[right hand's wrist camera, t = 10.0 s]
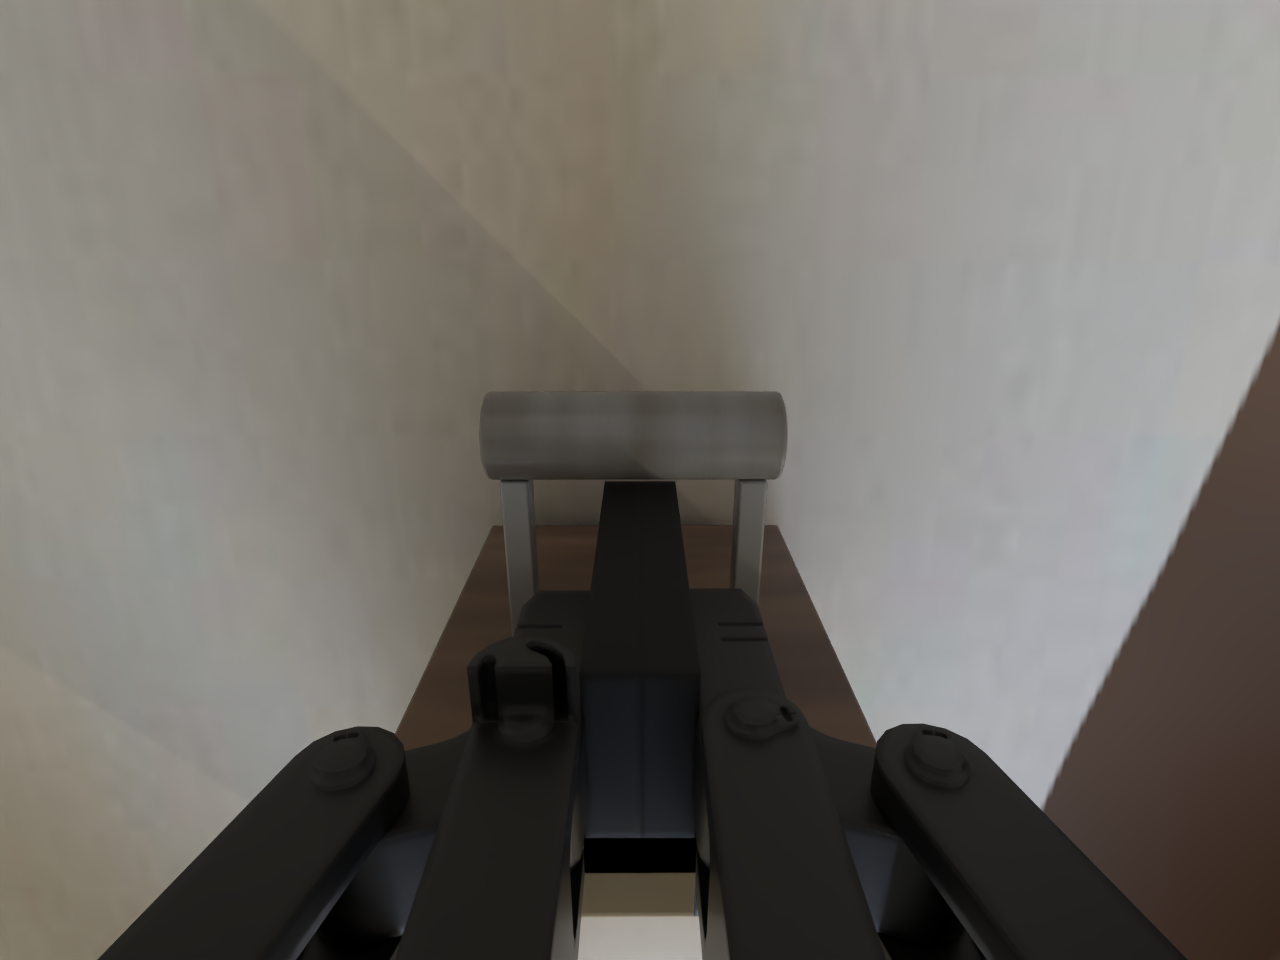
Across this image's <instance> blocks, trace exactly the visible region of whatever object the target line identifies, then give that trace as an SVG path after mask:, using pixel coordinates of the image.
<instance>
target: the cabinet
mask: <svg viewBox="0 0 1280 960" xmlns="http://www.w3.org/2000/svg"><path fill="white" fill-rule="evenodd" d="M694 895H695V873H585V877H584V889H583V902H582V914H581V926H580V938H579V951H578V960H702V950H701V938H700V925H699V916H694Z"/></svg>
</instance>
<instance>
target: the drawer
mask: <svg viewBox="0 0 1280 960" xmlns="http://www.w3.org/2000/svg"><path fill="white" fill-rule="evenodd" d="M479 437H480V452H481V459H482V464H483V468H484V471H485V473H486V475H487V477H488V478H490V479H492V480H501V482H500V491H501V504H502V516H503V526H492V529H491V531H490V533H489V535H488V537H487V539H486V541H485V543H484V546H483V548H482V550H481V552H480V554H479V556H478V558H477V561H476V563H475V565H474V567H473V569H472V571H471V573H470V575H469V578H468V580H467V582H466V584H465V586H464V588H463V590H462V593H461V595H460V597H459V599H458V601H457V603H456V605H455V607H454V610H453V612H452V614H451V616H450V618H449V620H448V622H447V624H446V627H445V629H444V631H443V633H442V635H441V637H440V639H439V642H438V644H437V646H436V648H435V650H434V652H433V654H432V656H431V659H430V661H429V663H428V665H427V667H426V669H425V671H424V674H423V676H422V678H421V680H420V682H419V684H418V686H417V688H416V691H415V693H414V695H413V697H412V699H411V701H410V703H409V705H408V708H407V710H406V712H405V714H404V716H403V718H402V720H401V723H400V725H399V727H398V729H397V731H396V733H395V735H396V736H397V737H398V739H399V740H400V741H401V742H402V743H403V746H404V751H407V750H411V749H415V748H419V747H423V746H428V745H432V744H436V743H439V742H442V741H446V740H449V739H452V738H454V737H456V736H458V735H460V734H462V733H464V732H466V731H468V730H469V729H470V728H471V725H472V722H473V720H472V711H471V702H470V693H469V684H468V675H467V665H468V664H469V663H470V661H471V660H472V658H473V657H474V656H475V654H476V653H478V652H479V651H481V650H482V649H484V648H485V647H487V646H488V645H490V644H492V643H495V642H498V641H501V640H504V639H507V638H509V637H513V636H514V633H515V630H516V628H517V623H518V620H519V617H520V613H521V610H522V607H523V605H525V604H526V603H527V602H528V601H529V600H530V599H531V598H532V597H533V596H534V595H535V594H536V593H537V592H538V591H539V590H590V589H591V582H592V574H593V567H594V560H595V552H596V545H597V537H598V530H599V526H536V525H535V509H534V493H533V480H582V479H735V492H734V510H733V525H681V530H682V537H683V545H684V552H685V560H686V567H687V574H688V582H689V588H741V589H742V590H743V591H744V592H745V593H746V594H747V595H748V596H749V597H750V598H752V599H753V600H754V601H755V602H756V603H757V604H758V607H759V611H760V614H761V617H762V621H763V626H764V627H765V630H766V634H767V637H768V641H769V643H770V647H771V650H772V653H773V656H774V660H775V663H776V666H777V669H778V673H779V676H780V679H781V682H782V686H783V689H784V692H785V696H786V698H787V699H788V700H790V701H791V702H792V703H794V704H795V705H796V706H798V707H799V708H800V710H801V712H802V713H803V715H804V716H805V718H806V720H807V721H808V724H809V726H810V727H812V728H813V729H815V730H817V731H819V732H821V733H823V734H825V735H827V736H831V737H834V738H837V739H840V740H843V741H847V742H851V743H856V744H860V745H864V746H868V747H872V748H876V746H877V743H876V741H875V738H874V736H873V734H872V732H871V730H870V728H869V725H868V723H867V721H866V719H865V717H864V714H863V712H862V710H861V708H860V706H859V703H858V701H857V699H856V697H855V695H854V692H853V690H852V688H851V686H850V684H849V682H848V679H847V677H846V675H845V673H844V671H843V668H842V666H841V664H840V662H839V660H838V657H837V655H836V653H835V651H834V649H833V646H832V644H831V642H830V640H829V638H828V635H827V633H826V631H825V629H824V627H823V625H822V622H821V620H820V618H819V616H818V614H817V611H816V609H815V607H814V605H813V603H812V600H811V598H810V596H809V594H808V592H807V589H806V587H805V585H804V583H803V581H802V579H801V576H800V574H799V572H798V570H797V568H796V565H795V563H794V561H793V559H792V557H791V554H790V552H789V550H788V548H787V546H786V543H785V541H784V539H783V537H782V535H781V533H780V530H779V528H778V526H776V525H764V524H765V511H766V497H767V481H766V479H776V478H779V477H780V475H781V473H782V470H783V467H784V464H785V458H786V450H787V416H786V409H785V404H784V401H783V398H782V396H781V394H780V393H778V392H489V393H487V394H486V396H485V398H484V401H483V404H482V408H481V414H480V429H479ZM696 846H697V843H696V832H695V835H694V838H586V835H585V836H584V870H585V873H695V870H696Z"/></svg>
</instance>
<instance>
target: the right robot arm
mask: <svg viewBox="0 0 1280 960" xmlns="http://www.w3.org/2000/svg"><path fill="white" fill-rule="evenodd" d="M467 675H468V684H469V693H470V702H471V711H472V720H473V722H472V725H471V728H470V729H469V730H468V731H466V732H464V733H462V734H460V735H458V736H456V737H454V738H452V739H449V740H446V741H442V742H439V743H436V744H432V745H428V746H423V747H419V748H415V749H411V750H407V751H404V746H403V743H402V742H401V741H400V740H399V739H398V737H397V736H396V735H395V734H394V733H392V732H390V731H387V730H384V729H382V728H379V727H353V728H349V729H344V730H340V731H335V732H333V733H331V734H329V735H327V736H325V737H323V738H320V739H318V740H316V741H314V742H313V743H311V744H310V745H309V746H307V747H306V748H305V749H304V750H302V751H301V752H300V753H299V754H297V755H296V756H295V757H294V758H293V759H292V760H291V761H290V762H289V763H288V764H287V765H286V766H285V767H284V768H283V769H282V770H281V771H280V772H279V773H278V774H277V775H276V776H275V777H274V778H273V779H272V781H271V782H270V783H269V784H268V785H267V786H266V787H265V788H264V789H263V790H262V791H261V792H260V793H259V794H258V795H257V796H256V797H255V798H254V799H253V800H252V801H251V802H250V803H249V804H248V805H247V806H246V807H245V808H244V809H243V810H242V811H241V812H240V813H239V815H238V816H237V817H236V818H235V819H234V820H233V821H232V822H231V823H230V824H229V825H228V826H227V827H226V828H225V829H224V830H223V831H222V832H221V833H220V834H219V835H218V836H217V837H216V838H215V839H214V840H213V841H212V842H211V843H210V844H209V845H208V846H207V847H206V848H205V850H204V851H203V852H202V853H201V854H200V855H199V856H198V857H197V858H196V859H195V860H194V861H193V862H192V863H191V864H190V865H189V866H188V867H187V868H186V869H185V870H184V871H183V872H182V873H181V874H180V875H179V876H178V877H177V878H176V879H175V880H174V881H173V882H172V884H171V885H170V886H169V887H168V888H167V889H166V890H165V891H164V892H163V893H162V894H161V895H160V896H159V897H158V898H157V899H156V900H155V901H154V902H153V903H152V904H151V905H150V906H149V907H148V908H147V909H146V910H145V911H144V912H143V913H142V914H141V915H140V916H139V917H138V919H137V920H136V921H135V922H134V923H133V924H132V925H131V926H130V927H129V928H128V929H127V930H126V931H125V932H124V933H123V934H122V935H121V936H120V937H119V938H118V939H117V940H116V941H115V942H114V943H113V944H112V945H111V946H110V947H109V948H108V949H107V950H106V951H105V953H104V954H103V955H102V956H101V957H100V958H99V959H98V960H578V951H579V938H580V926H581V914H582V902H583V889H584V877H585V870H584V836H585V835H586V838H694V835H695V832H696V843H697V846H696V870H695V895H694V916H699V925H700V938H701V950H702V960H1187V959H1186V958H1185V957H1184V956H1183V955H1182V954H1181V953H1180V952H1179V951H1178V950H1177V949H1176V947H1175V946H1173V944H1172V943H1171V942H1170V941H1169V940H1168V939H1167V938H1166V937H1165V936H1164V935H1163V934H1162V933H1161V932H1160V931H1159V930H1158V929H1157V928H1156V927H1155V926H1154V925H1153V924H1152V923H1151V922H1150V921H1149V920H1148V919H1147V918H1146V917H1145V916H1144V915H1143V914H1142V913H1141V912H1140V911H1139V910H1138V909H1137V908H1136V907H1135V906H1134V905H1133V904H1132V902H1131V901H1130V900H1129V899H1128V898H1127V897H1126V896H1125V895H1124V894H1123V893H1122V892H1121V891H1120V890H1119V889H1118V888H1117V887H1116V886H1115V885H1114V884H1113V883H1112V882H1111V881H1110V880H1109V879H1108V878H1107V877H1106V876H1105V875H1104V874H1103V873H1102V872H1101V871H1100V870H1099V869H1098V868H1097V867H1096V866H1095V865H1094V864H1093V863H1092V862H1091V861H1090V860H1089V859H1088V858H1087V856H1086V855H1085V854H1084V853H1083V852H1082V851H1081V850H1080V849H1079V848H1078V847H1077V846H1076V845H1075V844H1074V843H1073V842H1072V841H1071V840H1070V839H1069V838H1068V837H1067V836H1066V835H1065V834H1064V833H1063V832H1062V831H1061V830H1060V829H1059V828H1058V827H1057V826H1056V825H1055V824H1054V823H1053V822H1052V821H1051V820H1050V819H1049V818H1048V817H1047V816H1046V815H1045V814H1044V812H1043V811H1042V810H1041V809H1040V808H1039V807H1038V806H1037V805H1036V804H1035V803H1034V802H1033V801H1032V800H1031V799H1030V798H1029V797H1028V796H1027V795H1026V794H1025V793H1024V792H1023V791H1022V790H1021V789H1020V788H1019V787H1018V786H1017V785H1016V784H1015V783H1014V782H1013V781H1012V780H1011V779H1010V778H1009V777H1008V776H1007V775H1006V774H1005V773H1004V772H1003V771H1002V770H1001V769H1000V767H999V766H998V765H997V764H996V763H995V762H994V761H993V760H992V759H991V758H990V757H989V756H988V755H987V754H986V753H985V752H983V751H982V750H981V749H980V748H978V747H977V746H976V745H974V744H973V743H972V742H971V741H969V740H968V739H966V738H964V737H962V736H960V735H958V734H956V733H954V732H951V731H949V730H947V729H945V728H940V727H936V726H931V725H927V724H902V725H899V726H896V727H894V728H891V729H889V730H886V731H885V733H884V734H883V735H882V736H881V737H880V739H879V740H878V741H877V746H876V748H872V747H868V746H864V745H860V744H856V743H851V742H847V741H843V740H840V739H837V738H834V737H831V736H827V735H825V734H823V733H821V732H819V731H817V730H815V729H813V728H812V727H810V726H809V724H808V721H807V720H806V718H805V716H804V715H803V713H802V712H801V710H800V708H799V707H798V706H796V705H795V704H794V703H792V702H791V701H790V700H788V699H787V698H786V696H785V692H784V689H783V686H782V682H781V679H780V676H779V673H778V669H777V666H776V663H775V660H774V656H773V653H772V650H771V647H770V643H769V641H768V637H767V634H766V630H765V627H764V626H763V621H762V617H761V614H760V611H759V607H758V604H757V603H756V602H755V601H754V600H753V599H752V598H750V597H749V596H748V595H747V594H746V593H745V592H744V591H743V590H742V589H741V588H689V582H688V574H687V567H686V560H685V552H684V545H683V537H682V530H681V522H680V515H679V508H678V500H677V493H676V485H675V481H605V485H604V493H603V500H602V508H601V515H600V522H599V530H598V537H597V545H596V552H595V560H594V567H593V574H592V582H591V589H590V590H539V591H538V592H537V593H536V594H535V595H534V596H533V597H532V598H531V599H530V600H529V601H528V602H527V603H526V604H525V605H523V607H522V610H521V613H520V617H519V620H518V623H517V628H516V630H515V633H514V636H513V637H509V638H507V639H504V640H501V641H498V642H495V643H492V644H490V645H488V646H487V647H485V648H484V649H482V650H481V651H479V652H478V653H476V654H475V656H474V657H473V658H472V660H471V661H470V663H469V664H468V665H467Z"/></svg>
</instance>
